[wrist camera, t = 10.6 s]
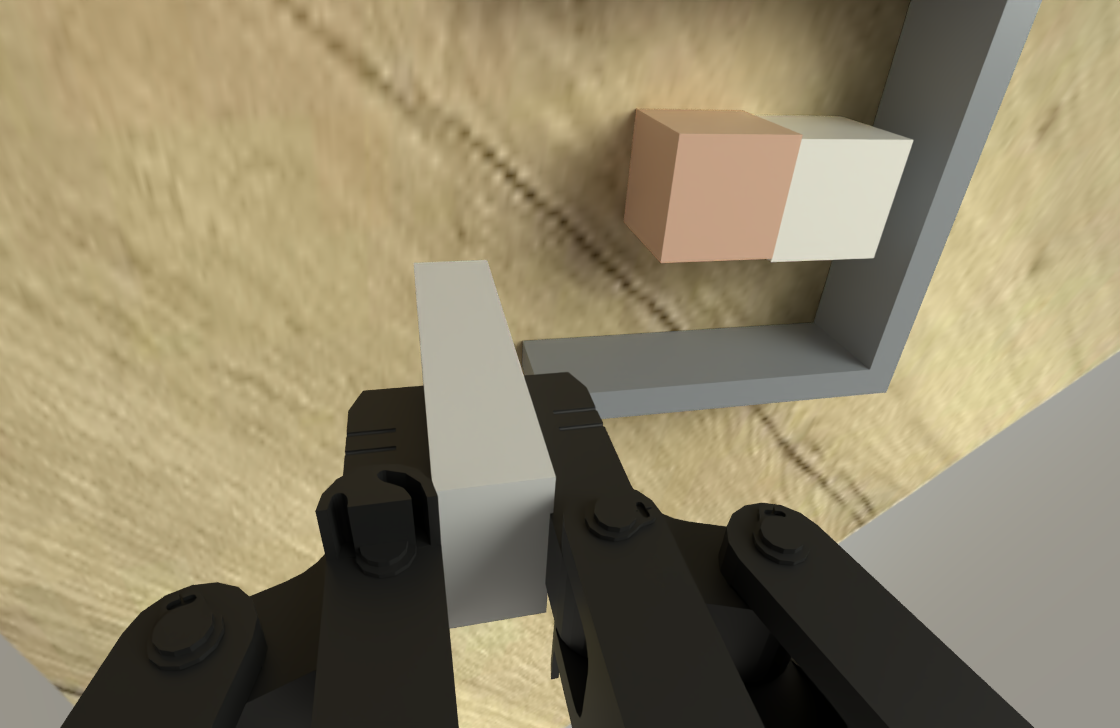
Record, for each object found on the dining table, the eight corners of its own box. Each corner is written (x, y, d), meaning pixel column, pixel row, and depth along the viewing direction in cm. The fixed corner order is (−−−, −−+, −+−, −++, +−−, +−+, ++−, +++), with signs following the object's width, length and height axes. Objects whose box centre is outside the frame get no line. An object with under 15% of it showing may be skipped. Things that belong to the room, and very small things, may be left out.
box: (534, -123, 22) (567, -145, 17) (966, -80, 25) (1077, -90, 21) (521, 366, 32) (541, 424, 28) (829, 343, 36) (885, 392, 32)
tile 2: (741, 114, 28) (801, 139, 24) (839, 115, 29) (913, 140, 25) (720, 222, 30) (771, 262, 26) (811, 220, 31) (873, 257, 27)
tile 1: (635, 108, 27) (679, 133, 22) (742, 110, 28) (803, 134, 24) (622, 221, 29) (660, 262, 25) (720, 219, 30) (772, 258, 26)
